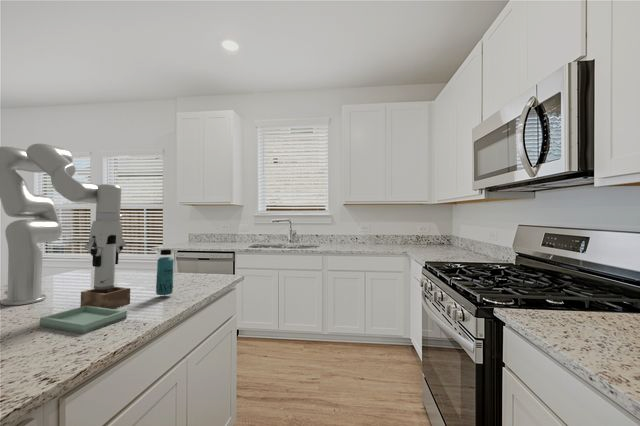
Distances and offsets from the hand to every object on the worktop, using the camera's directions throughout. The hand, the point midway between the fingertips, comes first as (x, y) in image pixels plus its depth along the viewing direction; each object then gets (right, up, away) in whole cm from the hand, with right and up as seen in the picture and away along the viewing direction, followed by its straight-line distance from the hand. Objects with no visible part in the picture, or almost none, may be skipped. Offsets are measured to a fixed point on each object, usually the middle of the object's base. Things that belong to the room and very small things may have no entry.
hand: (105, 264), depth 115 cm
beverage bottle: (+15, -16, +14) cm, 26 cm away
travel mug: (0, -9, 0) cm, 9 cm away
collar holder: (0, -16, 0) cm, 15 cm away
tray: (+6, -15, -17) cm, 24 cm away
